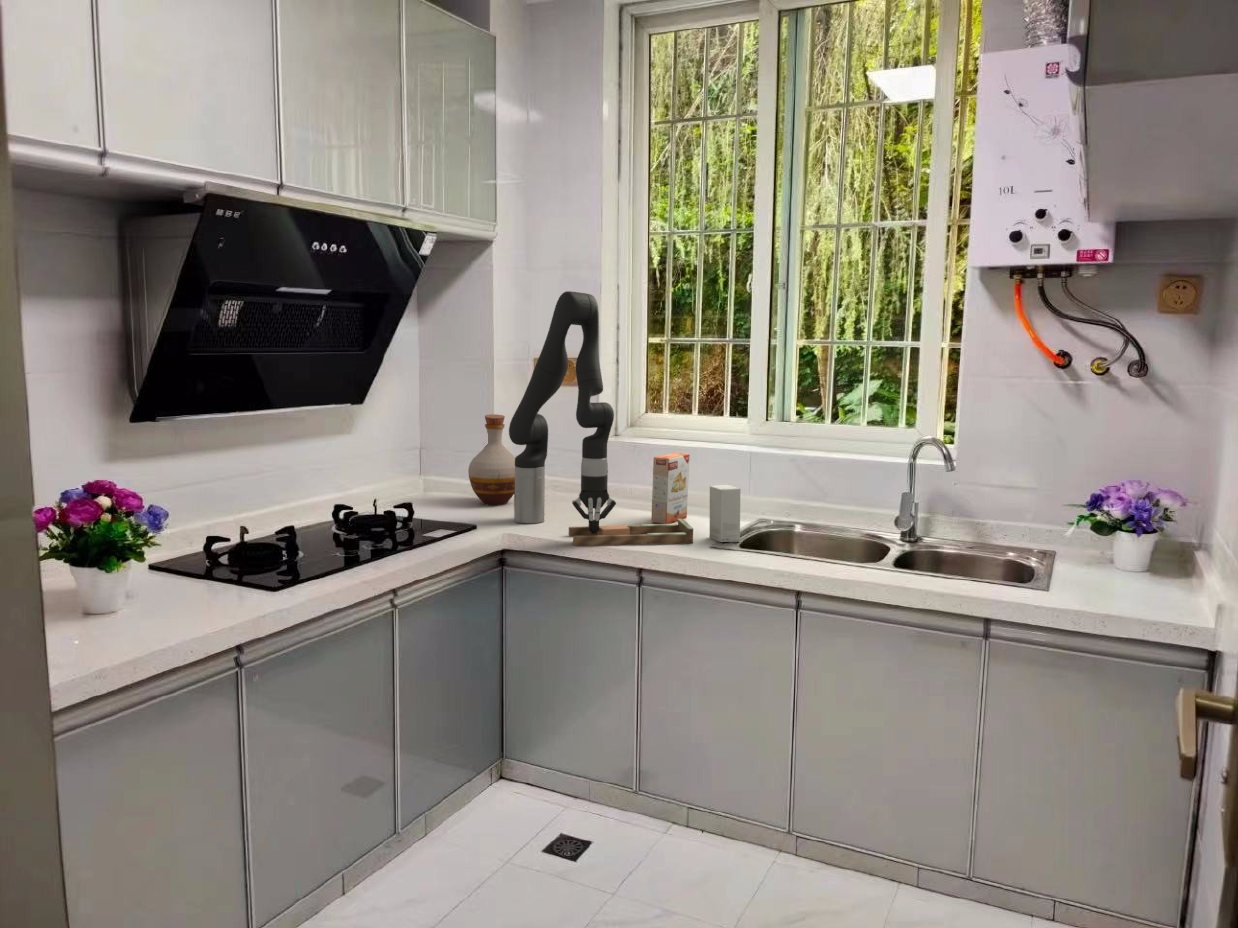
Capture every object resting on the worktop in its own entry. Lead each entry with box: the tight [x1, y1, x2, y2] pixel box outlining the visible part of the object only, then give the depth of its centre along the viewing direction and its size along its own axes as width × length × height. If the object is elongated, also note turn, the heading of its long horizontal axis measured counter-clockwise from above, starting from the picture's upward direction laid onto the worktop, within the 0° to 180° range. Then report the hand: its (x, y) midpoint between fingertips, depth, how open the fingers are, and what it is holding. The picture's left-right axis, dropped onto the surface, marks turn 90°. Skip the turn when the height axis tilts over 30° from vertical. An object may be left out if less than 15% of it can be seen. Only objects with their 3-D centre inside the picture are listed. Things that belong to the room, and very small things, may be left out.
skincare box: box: [709, 484, 741, 543], centre depth 267 cm, size 8×7×16 cm
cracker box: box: [650, 452, 690, 524], centre depth 291 cm, size 14×6×21 cm, turn 148°
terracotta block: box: [598, 524, 630, 535], centre depth 266 cm, size 8×5×4 cm, turn 108°
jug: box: [467, 413, 516, 506], centre depth 314 cm, size 20×18×30 cm
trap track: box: [568, 518, 694, 547], centre depth 266 cm, size 34×13×4 cm, turn 99°
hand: (593, 532), depth 265 cm, fingers closed
